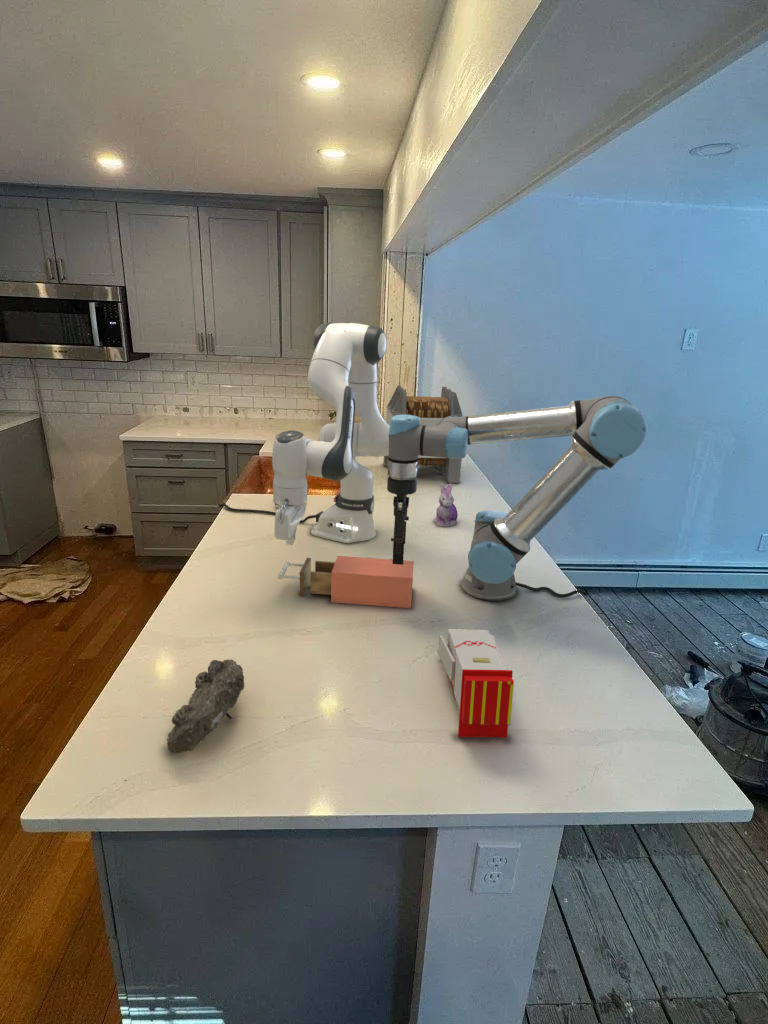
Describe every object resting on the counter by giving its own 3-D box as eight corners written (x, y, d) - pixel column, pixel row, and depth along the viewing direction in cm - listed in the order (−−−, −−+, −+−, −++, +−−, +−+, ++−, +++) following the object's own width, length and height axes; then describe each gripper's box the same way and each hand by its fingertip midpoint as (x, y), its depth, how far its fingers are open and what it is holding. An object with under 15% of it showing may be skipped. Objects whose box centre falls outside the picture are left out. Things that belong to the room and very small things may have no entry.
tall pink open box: (331, 602, 152) (331, 572, 149) (337, 584, 162) (337, 555, 159) (410, 608, 151) (412, 578, 148) (412, 589, 161) (413, 560, 158)
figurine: (442, 528, 206) (446, 489, 201) (428, 519, 214) (431, 481, 209) (464, 525, 210) (468, 486, 205) (449, 516, 218) (452, 479, 213)
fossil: (192, 660, 117) (244, 628, 112) (224, 691, 120) (276, 661, 115) (142, 746, 98) (202, 712, 93) (182, 779, 101) (242, 748, 96)
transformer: (382, 463, 289) (386, 382, 275) (445, 464, 293) (451, 384, 279) (390, 482, 257) (394, 392, 243) (460, 483, 261) (468, 394, 247)
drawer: (277, 593, 153) (277, 570, 151) (286, 578, 162) (285, 556, 159) (374, 601, 151) (375, 577, 149) (377, 584, 160) (378, 562, 158)
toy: (488, 613, 130) (523, 677, 101) (484, 667, 133) (517, 744, 104) (435, 612, 130) (455, 676, 101) (432, 666, 133) (451, 743, 103)
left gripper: (293, 508, 138) (293, 559, 143) (309, 483, 157) (309, 530, 162) (267, 506, 138) (269, 557, 143) (287, 482, 158) (288, 528, 162)
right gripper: (415, 492, 132) (411, 574, 139) (418, 464, 156) (414, 536, 163) (383, 490, 133) (381, 572, 140) (390, 463, 156) (388, 534, 163)
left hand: (290, 542), depth 153 cm, fingers closed
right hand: (399, 553), depth 151 cm, fingers open, 13 cm apart
